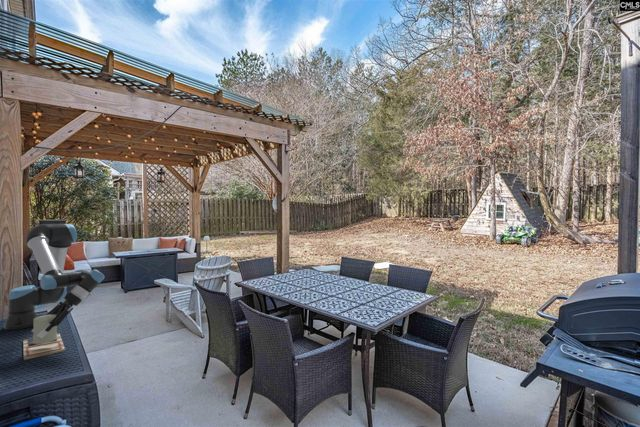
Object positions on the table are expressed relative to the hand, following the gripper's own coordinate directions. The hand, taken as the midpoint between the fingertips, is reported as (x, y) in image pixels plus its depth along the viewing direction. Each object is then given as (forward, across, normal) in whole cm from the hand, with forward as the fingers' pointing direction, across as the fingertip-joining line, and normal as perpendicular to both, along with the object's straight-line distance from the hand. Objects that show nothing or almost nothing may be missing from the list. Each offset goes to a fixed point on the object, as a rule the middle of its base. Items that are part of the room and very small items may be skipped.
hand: (36, 334), depth 156 cm
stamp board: (+3, +7, -9) cm, 12 cm away
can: (0, 0, -5) cm, 5 cm away
